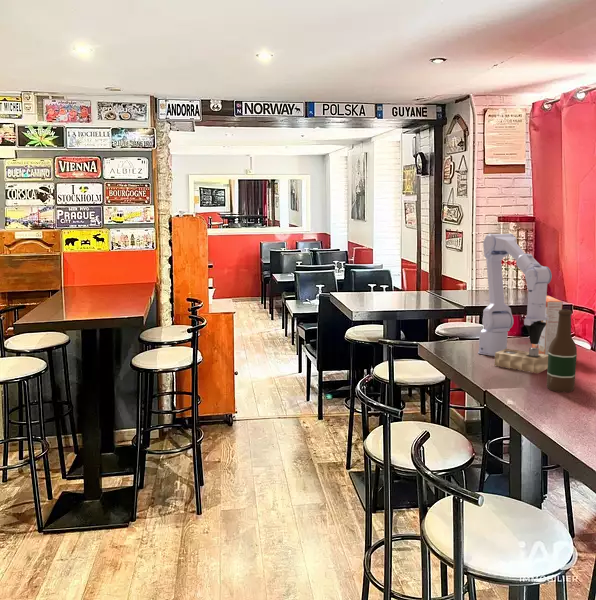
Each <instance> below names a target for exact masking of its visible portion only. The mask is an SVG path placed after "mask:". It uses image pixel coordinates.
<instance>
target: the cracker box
mask: <svg viewBox="0 0 596 600" xmlns="http://www.w3.org/2000/svg"><path fill="white" fill-rule="evenodd" d="M563 303H564V302H563V301H562V300H560V299H557V298H555V297H553V296H550V295H547V296H546V312H545V314H547V317H548V318H549V320H542V321H541V322H545V323H546V326H545V327H544V329H543V331H542V333H541V336H540V340H539V343H538V344H531V348H538V349H539V354H544V355H548V352H549V346H550V344H551V342H552V340H553V339H554V338H555V337H556V333H557V328H558V320H559V314H558V312H559V310H562V309H563V305H564V304H563Z"/></svg>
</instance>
